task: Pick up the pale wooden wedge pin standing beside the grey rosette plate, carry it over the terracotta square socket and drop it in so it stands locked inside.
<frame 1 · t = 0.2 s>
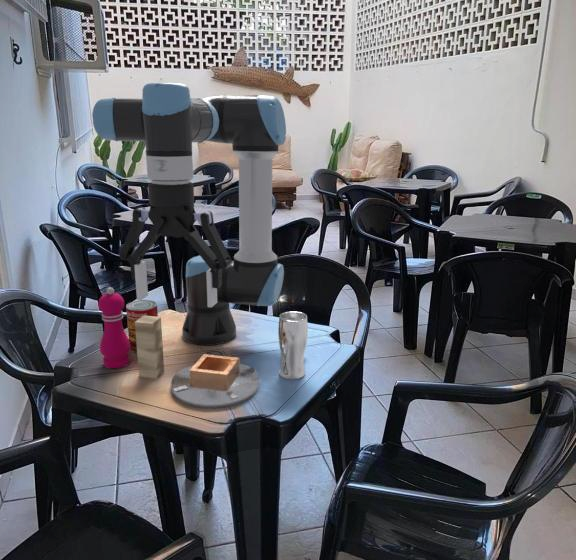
hand: (177, 301, 94), 28 cm above the table, tool pointing down, fingers open, 13 cm apart
pepper mill: (116, 364, 132), on the table
rosette plate: (215, 385, 122), on the table
beer glass: (292, 374, 128), on the table
wedge pin: (151, 373, 127), on the table
canned food: (144, 347, 142), on the table
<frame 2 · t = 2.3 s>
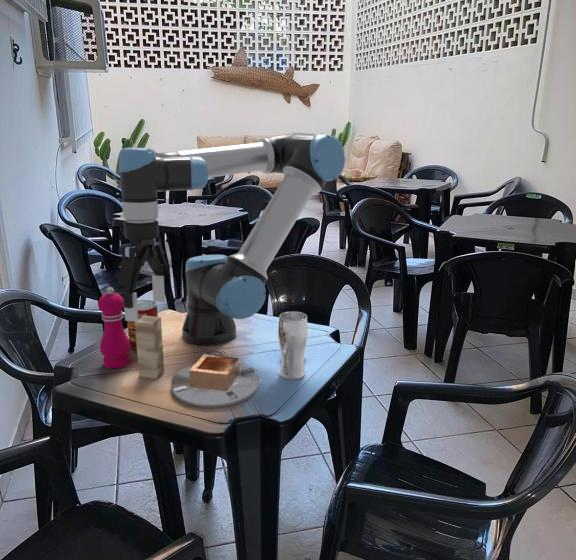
hand: (146, 310, 122), 16 cm above the table, tool pointing down, fingers open, 13 cm apart
nothing on the table moved.
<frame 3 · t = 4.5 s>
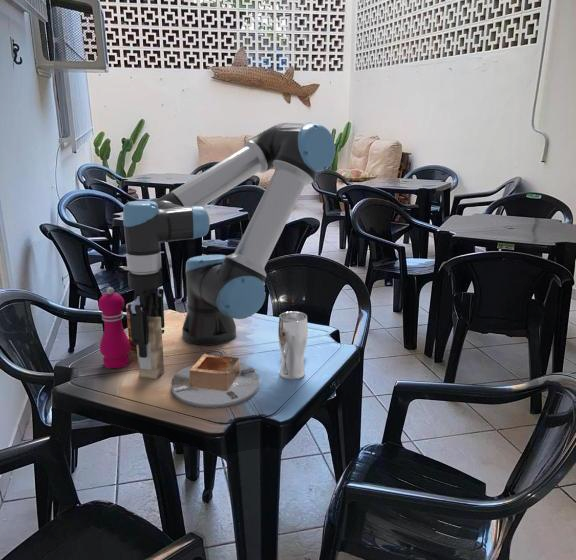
hand: (151, 363, 126), 3 cm above the table, tool pointing down, fingers closed on wedge pin, 4 cm apart
wedge pin: (151, 373, 127), on the table, touching gripper
everything else where it was.
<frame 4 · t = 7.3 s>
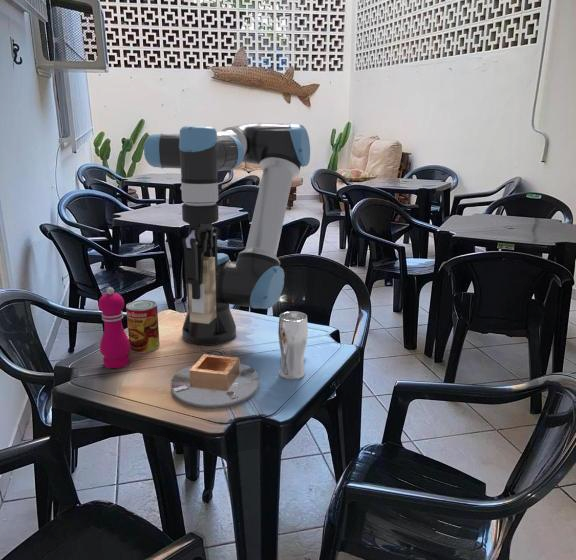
hand: (203, 308, 117), 19 cm above the table, tool pointing down, fingers closed on wedge pin, 4 cm apart
wedge pin: (203, 319, 118), point 16 cm above the table, touching gripper
everything else where it was.
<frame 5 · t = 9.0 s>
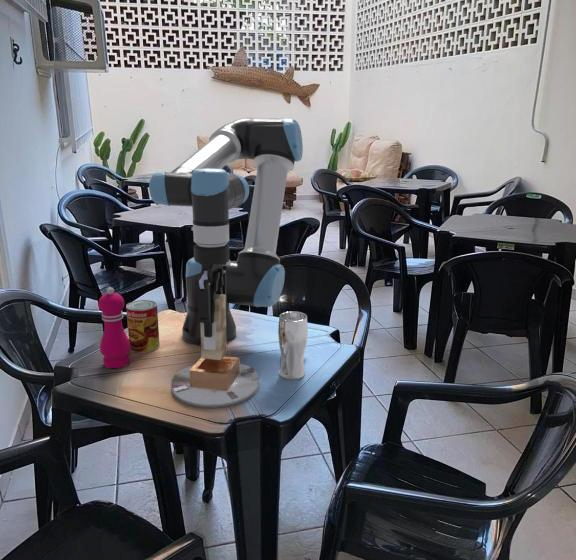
hand: (214, 344, 119), 10 cm above the table, tool pointing down, fingers closed on wedge pin, 4 cm apart
wedge pin: (214, 355, 120), point 8 cm above the table, touching gripper
everything else where it was.
when the fingers open (8 cm above the table, at t = 10.2 s): wedge pin drops 3 cm, resting on rosette plate.
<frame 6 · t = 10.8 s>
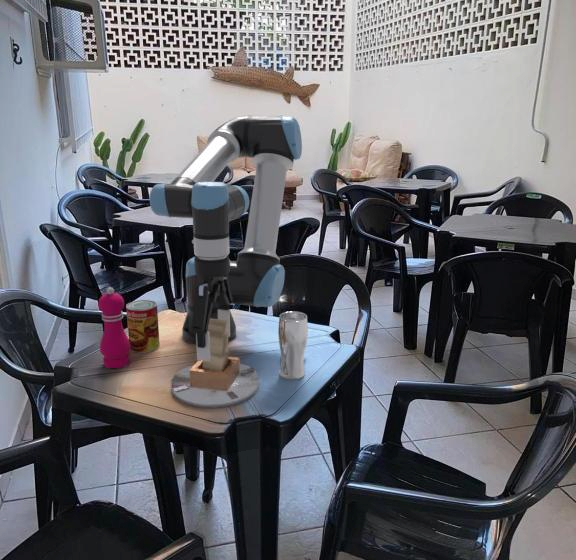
hand: (214, 347, 119), 10 cm above the table, tool pointing down, fingers open, 13 cm apart
wedge pin: (215, 379, 122), point 2 cm above the table, touching rosette plate
everything else where it was.
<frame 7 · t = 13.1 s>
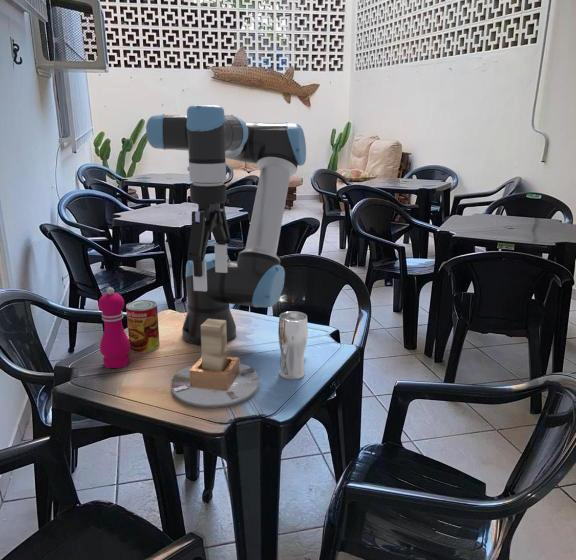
hand: (211, 280, 116), 25 cm above the table, tool pointing down, fingers open, 13 cm apart
nothing on the table moved.
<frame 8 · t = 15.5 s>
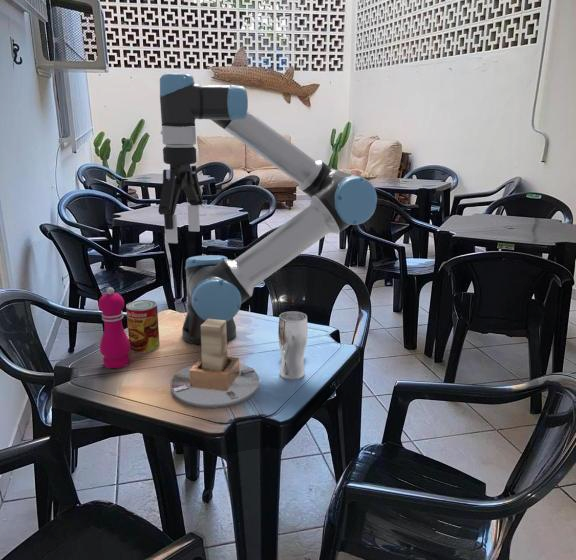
hand: (183, 236, 127), 32 cm above the table, tool pointing down, fingers open, 13 cm apart
nothing on the table moved.
at the end: wedge pin 0.1 cm off-centre on the rosette plate, point 1.5 cm above the rosette plate's base; wedge pin tilted 0°; the gripper is holding nothing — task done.
